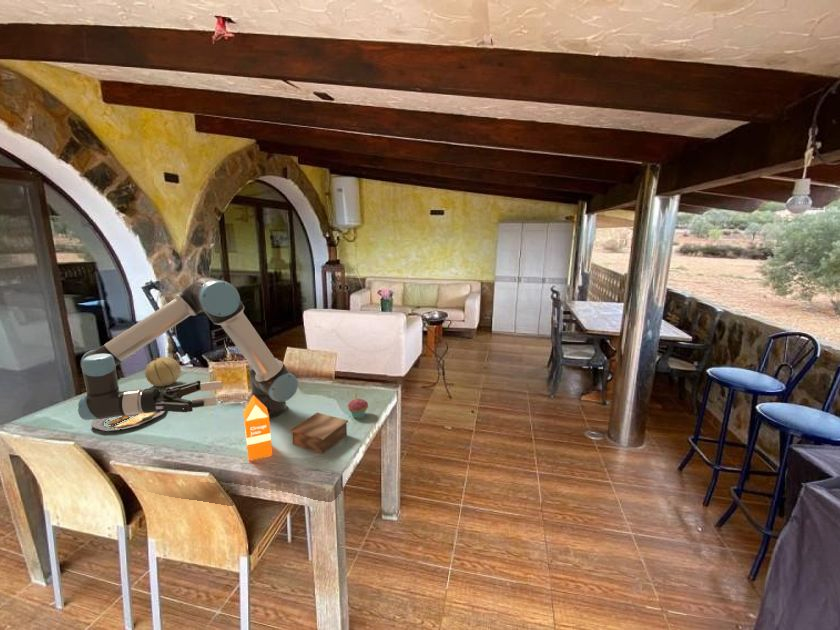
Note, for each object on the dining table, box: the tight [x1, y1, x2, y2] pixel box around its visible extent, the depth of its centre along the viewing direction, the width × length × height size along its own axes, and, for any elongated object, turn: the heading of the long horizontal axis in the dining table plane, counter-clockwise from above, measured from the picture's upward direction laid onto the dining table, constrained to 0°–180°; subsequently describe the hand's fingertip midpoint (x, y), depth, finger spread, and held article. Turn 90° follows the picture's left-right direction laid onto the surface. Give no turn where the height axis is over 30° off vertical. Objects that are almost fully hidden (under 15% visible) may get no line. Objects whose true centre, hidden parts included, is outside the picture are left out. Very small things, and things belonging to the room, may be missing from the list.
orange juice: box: [242, 395, 273, 461], centre depth 134 cm, size 8×9×20 cm
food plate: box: [90, 411, 166, 432], centre depth 159 cm, size 25×23×4 cm
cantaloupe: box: [144, 356, 182, 387], centre depth 192 cm, size 15×15×15 cm
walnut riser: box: [289, 412, 349, 454], centre depth 144 cm, size 15×15×6 cm
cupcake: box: [347, 391, 369, 419], centre depth 162 cm, size 9×8×12 cm
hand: (219, 392), depth 127 cm, fingers open, 13 cm apart
